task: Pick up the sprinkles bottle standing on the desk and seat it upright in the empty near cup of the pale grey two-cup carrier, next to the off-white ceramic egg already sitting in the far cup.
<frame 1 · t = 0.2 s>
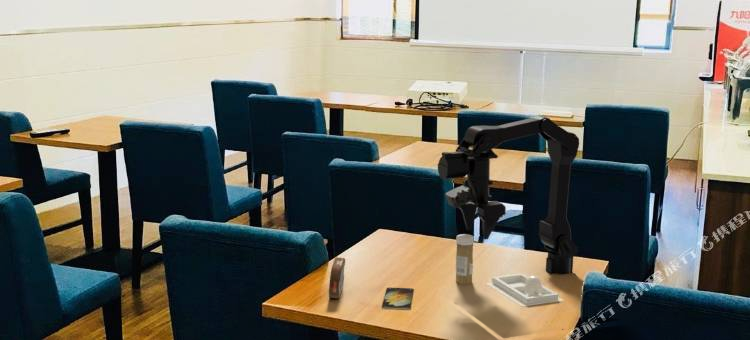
hand: (477, 234, 221), 14 cm above the table, fingers open, 9 cm apart
sprinkles bottle: (463, 286, 223), on the table
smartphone: (398, 300, 213), on the table
tin: (337, 293, 216), on the table
carrier: (524, 295, 216), on the table
egg: (532, 296, 212), point 1 cm above the table, touching carrier
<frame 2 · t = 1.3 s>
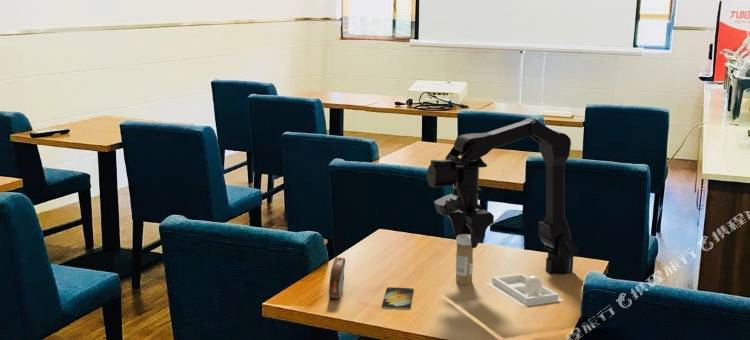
hand: (465, 243, 221), 12 cm above the table, fingers open, 9 cm apart
nothing on the table moved.
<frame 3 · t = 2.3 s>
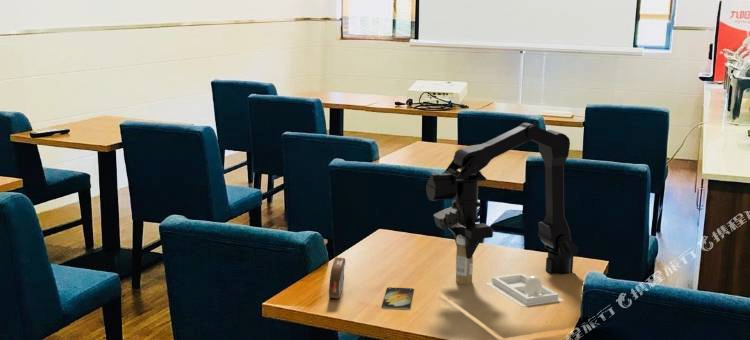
hand: (464, 255, 221), 8 cm above the table, fingers closed on sprinkles bottle, 4 cm apart
sprinkles bottle: (463, 285, 223), on the table, touching gripper
everything else where it was.
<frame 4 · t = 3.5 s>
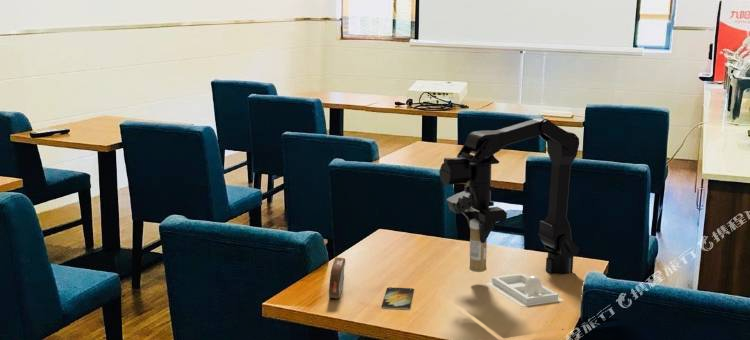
hand: (478, 240, 220), 13 cm above the table, fingers closed on sprinkles bottle, 4 cm apart
sprinkles bottle: (477, 270, 222), point 4 cm above the table, touching gripper
everything else where it was.
when the fingers open (10 cm above the table, at t = 5.0 s): sprinkles bottle stays where it is, resting on carrier.
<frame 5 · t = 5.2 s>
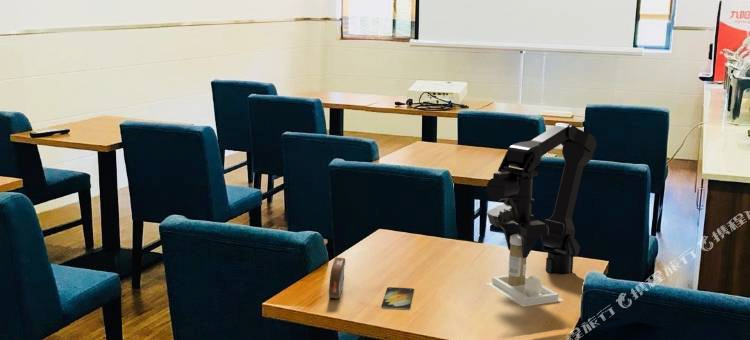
hand: (517, 253, 218), 10 cm above the table, fingers open, 7 cm apart
sprinkles bottle: (516, 286, 220), point 1 cm above the table, touching carrier
everything else where it was.
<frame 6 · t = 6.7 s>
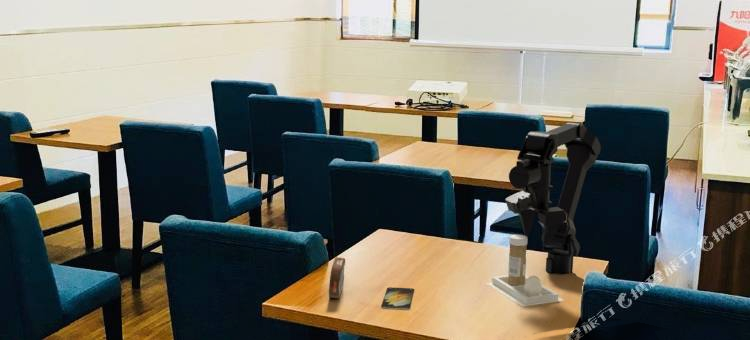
hand: (536, 240, 219), 13 cm above the table, fingers open, 9 cm apart
nothing on the table moved.
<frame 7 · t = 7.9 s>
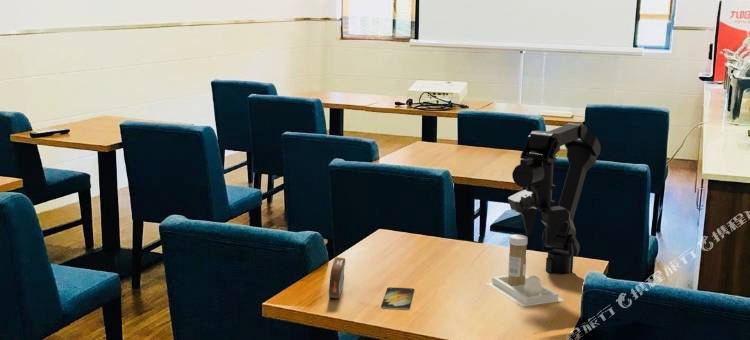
hand: (538, 239, 219), 13 cm above the table, fingers open, 9 cm apart
nothing on the table moved.
at the end: sprinkles bottle 0.1 cm from the target spot on the carrier, point 0.8 cm above the carrier's base; sprinkles bottle tilted 0°; the gripper is holding nothing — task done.
